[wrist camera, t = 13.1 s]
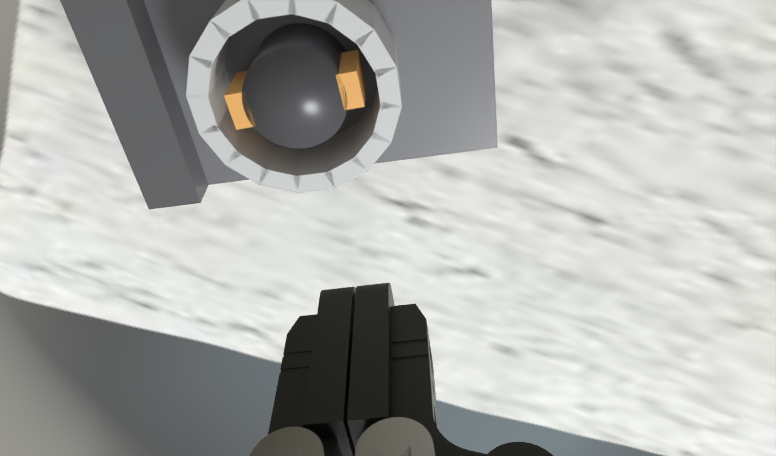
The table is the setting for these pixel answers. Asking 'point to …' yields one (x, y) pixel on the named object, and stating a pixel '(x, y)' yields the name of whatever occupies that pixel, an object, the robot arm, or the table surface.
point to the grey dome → (297, 87)
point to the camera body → (235, 54)
